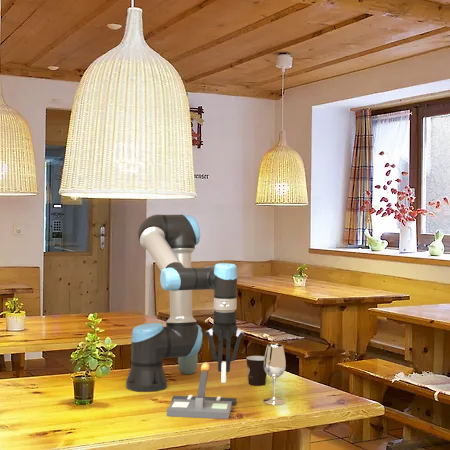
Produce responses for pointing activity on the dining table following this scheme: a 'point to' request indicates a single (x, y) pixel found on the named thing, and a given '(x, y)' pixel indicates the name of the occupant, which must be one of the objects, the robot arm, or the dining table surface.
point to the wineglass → (274, 368)
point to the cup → (188, 364)
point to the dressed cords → (206, 398)
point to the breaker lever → (203, 379)
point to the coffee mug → (256, 370)
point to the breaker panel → (200, 408)
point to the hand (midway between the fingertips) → (223, 381)
